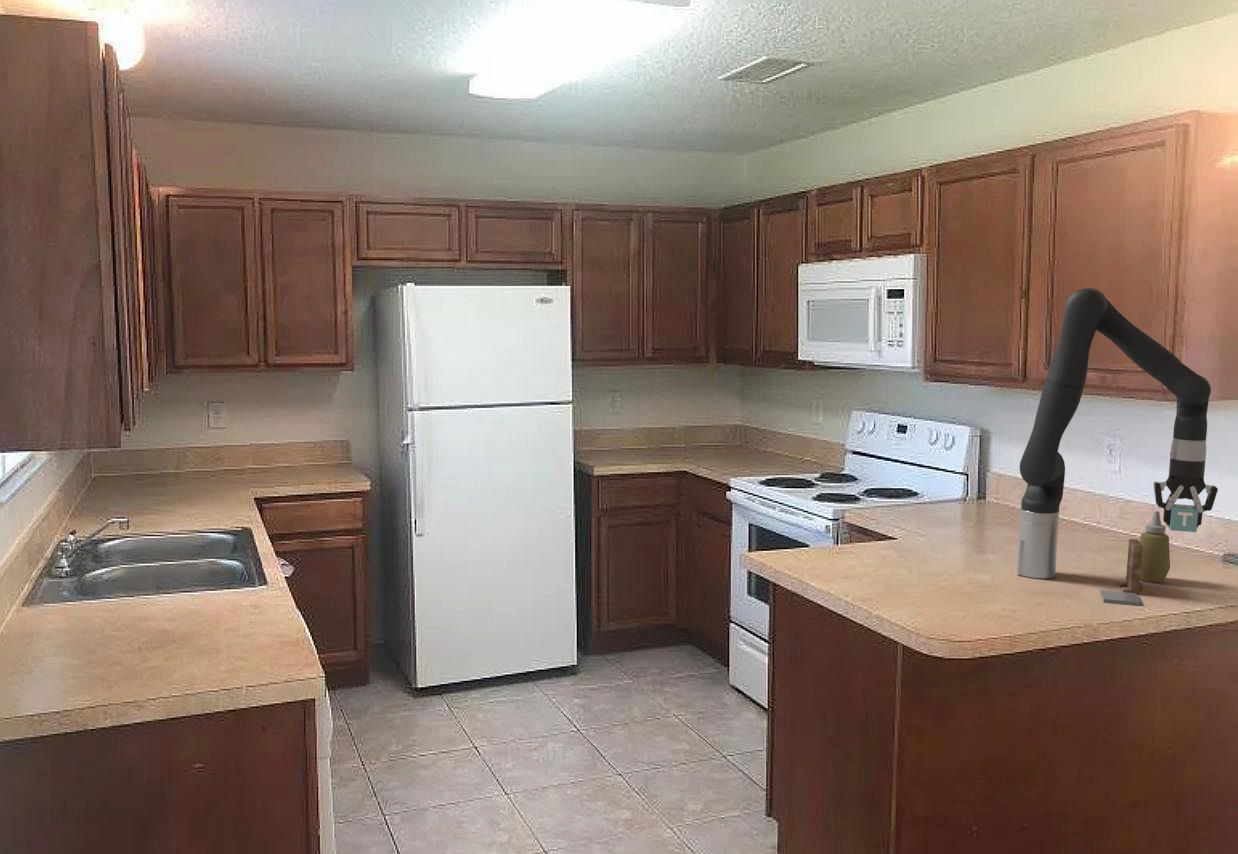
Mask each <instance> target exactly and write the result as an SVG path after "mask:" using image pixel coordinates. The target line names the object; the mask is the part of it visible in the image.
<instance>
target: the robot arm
mask: <svg viewBox="0 0 1238 854" xmlns="http://www.w3.org/2000/svg"><path fill="white" fill-rule="evenodd" d="M1062 320H1063V321H1062V324H1061V331H1060V336H1059V340H1058V344H1057V346H1056V349H1055V351H1054V353H1053V356H1052V360H1051V361H1050V364H1049V367H1048V369H1047V370H1048V371H1047V374H1046V377H1045V380H1044V383H1043V387H1042V391H1041V394H1040V399H1039V402H1038V407H1037V410H1036V414H1035V418H1034V423H1033V427H1032V431H1031V434H1030V436H1029V439H1028V442H1027V444H1026V447H1025V448H1024V451H1023V454H1022V456H1021V460H1020V462H1019V473H1020V476H1021V479H1022V480H1023V481H1024V482H1025V483H1026V490H1025V492H1024V494H1023V496H1022V498H1021V502H1020V503H1021V504H1020V521H1019V522H1020V523H1019V535H1018V543H1017V544H1018V545H1017V560H1016V561H1017V562H1016V573H1017V576H1023V577H1027V578H1031V579H1032V578H1033V579H1052V578H1054V577H1056V568H1057V567H1056V565H1057V563H1056V562H1057V551H1058V549H1057V548H1058V537H1059V536H1058V534H1059V519H1060V505H1061V502H1062V501H1063V495H1064V489H1065V486H1064V485H1065V477H1066V475H1065V474H1066V464H1065V460H1064V458H1063V456H1062V454H1061V453H1060V452H1059V448H1060V443H1061V441H1062V438H1063V435H1064V433H1065V431H1066V430H1067V428H1068V426H1069V425H1070V423H1071V420H1072V419H1073V417H1074V415H1075V413H1076V411H1077V409H1078V407H1079V405H1080V402H1081V398H1082V396H1083V393H1084V392H1083V391H1084V388H1085V385H1086V380H1087V375H1088V368H1089V367H1088V366H1089V357H1090V355H1089V354H1090V349H1091V346H1092V342H1093V340H1094V337H1095V334H1096V332H1098V333H1100V334H1102V335H1103V336H1105V338H1107V339H1108V340H1110V341H1111V342H1112V343H1113V344H1114V345H1115V346H1116V347H1118V348H1119V350H1121V352H1122V353H1124V355H1126V357H1128V358H1129V360H1131V361H1132V362H1134V364H1136V365H1137V366H1138V367H1139V368H1140V369H1141V370H1143V371H1144V372H1145V373H1146V374H1148V376H1151V377H1152V378H1153V379H1155V380H1156V381H1158V382H1159V383H1161V384H1162V385H1163V386H1164V387H1165V388H1166V389H1167V390H1168V391H1169V392H1170V393H1172V394H1173V395H1174V396H1175V397H1176V415H1175V419H1174V425H1173V435H1172V442H1171V446H1170V452H1169V455H1170V456H1169V458H1170V459H1169V466H1168V467H1169V468H1168V477H1167V479H1166V480H1165V481H1159V482H1158V481H1154V482H1153V491H1154V497H1155V498H1154V500H1155V505H1157V507H1158V508H1162V509H1163V515H1162V516H1163V517H1162V520H1163V522H1164V523H1165V526H1167V525H1170V520H1171V508H1172V506H1173V504H1176V501H1177V500H1178V499H1179V500H1183V499H1187V500H1189V501H1190V500H1191V501H1192V503H1193V505H1194V506H1195V507H1196V508H1197V509H1198V520H1197V529H1198V528H1199V526H1201V525H1202V521H1203V513H1205V512H1208V511H1212V510H1213V506H1214V504H1215V500H1216V497H1217V493H1218V490H1219V488H1218V487H1217V486H1216V485H1213V484H1212V485H1209V484H1206V482H1205V471H1206V470H1205V468H1206V458H1207V435H1208V434H1207V433H1208V419H1207V418H1208V417H1207V415H1208V409H1209V407H1208V406H1209V402H1210V401H1209V400H1210V396H1211V393H1212V390H1211V389H1212V388H1211V385H1210V383H1209V382H1210V381H1208V379H1207V378H1205V377H1204V376H1202V375H1201V374H1198V373H1196V372H1195V371H1194V370H1192V369H1191V368H1190V367H1189V366H1187V365H1185V364H1184V363H1182V361H1181V359H1179V358H1178V357H1177V356H1176V355H1175V354H1173V353H1172V352H1171V351H1170V350H1169V349H1167V348H1166V347H1165V346H1163V345H1162V344H1160V343H1159V342H1157V341H1156V340H1155V339H1153V338H1152V337H1151V336H1150V335H1148V334H1146V333H1145V332H1144V331H1142V330H1141V329H1140V328H1138V327H1137V326H1136V325H1134V323H1132V322H1130V320H1128V319H1127V318H1126V317H1125V316H1124V315H1123V314H1122V313H1120V311H1118V309H1116V308H1115V307H1114V305H1113V304H1112V303H1111V302H1110V301H1109V300H1108V299H1107V297H1106V296H1105V295H1104V293H1103V292H1102V291H1100V290H1099V289H1096V288H1093V287H1085V288H1084V287H1083V288H1080V289H1077V290H1075V291H1073V292H1072V293H1071V294H1070V295H1069V296H1068V298H1067V299H1066V302H1065V305H1064V313H1063V319H1062ZM1166 487H1167V489H1168V490H1169V492H1170V493H1169V495H1168V497H1167V499H1166V501H1165V502H1164V501H1163V494H1162V492H1163V491H1164V490H1165V488H1166ZM1204 490H1205V492H1206V494H1207V496H1206V498H1205V499H1206V500H1205V502H1204V504H1203V505H1202V501H1201V499H1200V497H1199V495H1200V494H1201V493H1202V492H1203V491H1204Z"/></svg>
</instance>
